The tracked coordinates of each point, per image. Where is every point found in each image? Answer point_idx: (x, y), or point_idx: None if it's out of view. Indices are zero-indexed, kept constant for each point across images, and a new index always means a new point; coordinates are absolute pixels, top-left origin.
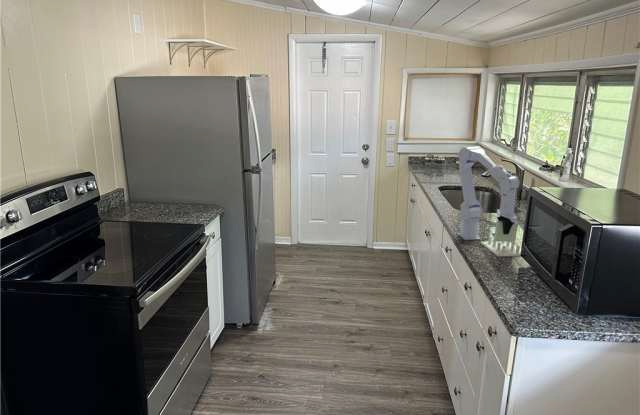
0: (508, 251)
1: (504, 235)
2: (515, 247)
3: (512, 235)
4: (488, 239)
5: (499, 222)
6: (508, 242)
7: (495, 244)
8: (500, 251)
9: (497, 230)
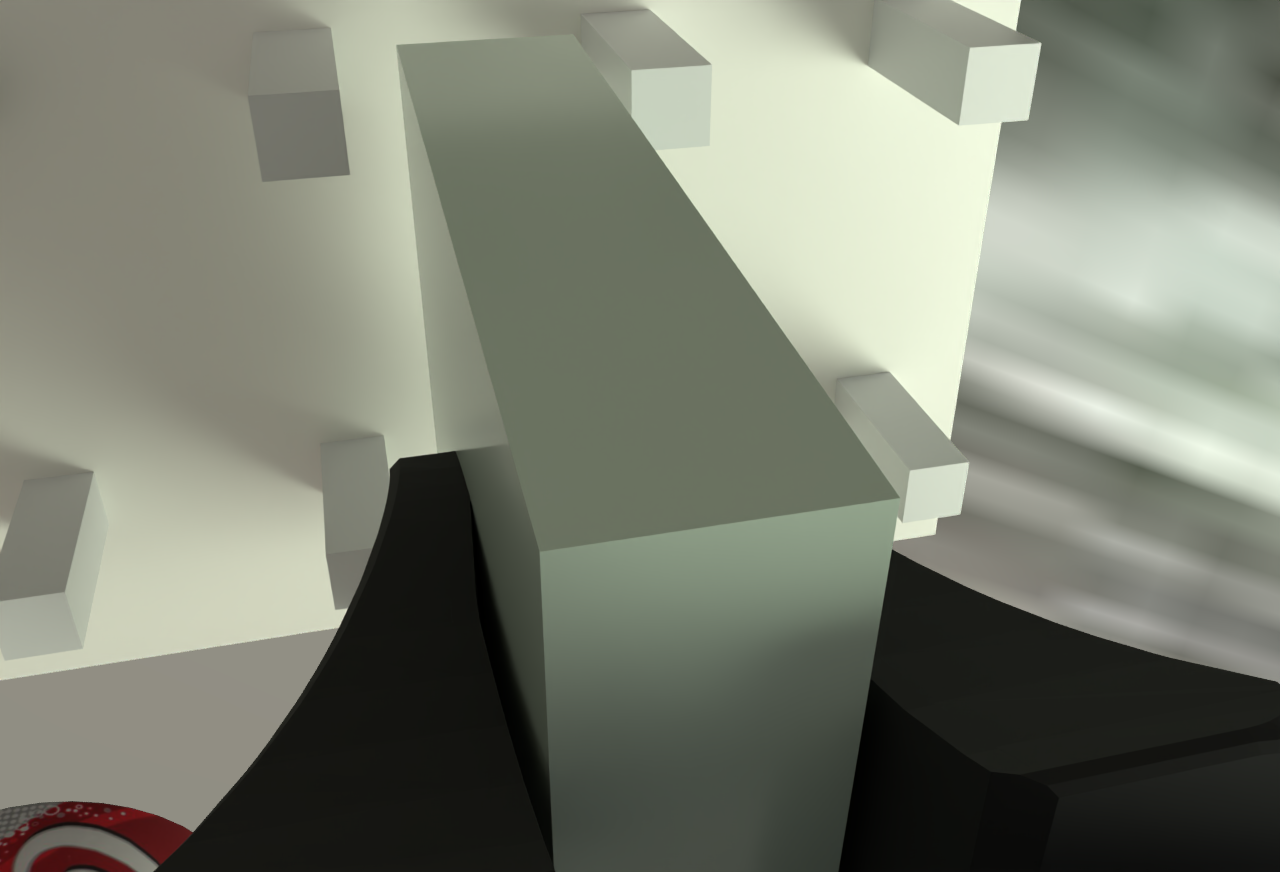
0: (91, 290)
1: None
2: None
3: None
4: (980, 17)
5: (539, 601)
6: None
7: None
8: (56, 40)
9: (456, 247)
